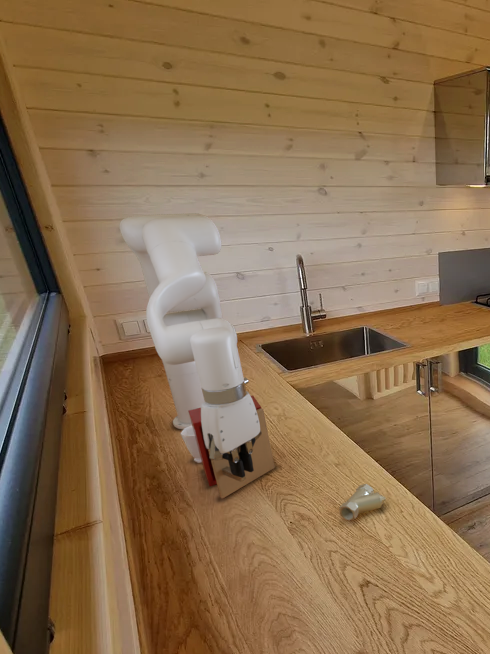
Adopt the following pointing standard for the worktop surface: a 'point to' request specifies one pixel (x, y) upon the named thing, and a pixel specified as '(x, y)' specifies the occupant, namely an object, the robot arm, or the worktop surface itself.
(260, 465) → the cabinet door
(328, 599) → the worktop surface
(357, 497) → the pipe fitting
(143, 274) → the robot arm
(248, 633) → the worktop surface
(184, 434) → the cup
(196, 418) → the valve cabinet
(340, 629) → the worktop surface
